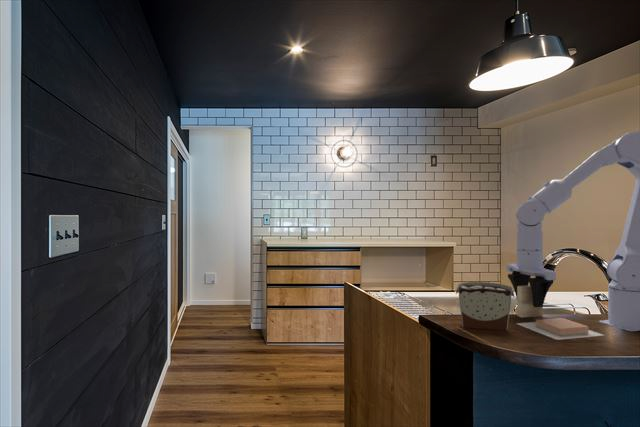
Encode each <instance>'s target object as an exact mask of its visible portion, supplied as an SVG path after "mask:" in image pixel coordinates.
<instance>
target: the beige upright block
mask: <svg viewBox="0 0 640 427" xmlns="http://www.w3.org/2000/svg"><path fill="white" fill-rule="evenodd" d="M516 300H517V303H516V304H517V305H516V307H517V308H516V312H517V315H516V316H517V317H519V318H533V317H534V318H535V317H544V316H543V315H544V313H543V311H544V310H543V309H544V308H543V307H544V306H543V307H534V306H533V300H532V290H531V286H530V284H528V286H517V298H516Z"/></svg>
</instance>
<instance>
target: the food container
mask: <svg viewBox="0 0 640 427" xmlns="http://www.w3.org/2000/svg"><path fill="white" fill-rule="evenodd" d="M457 294H458V299H459V306H460V307H459V309H460V317H461V325H462V328H463V330H465V328H469V329H485V330H496V331H497V330H499V331H508V330H509V320H510V313H511V312H510V311H511V304H512V297H513V298H515V297H516V295H515V291H514V289H513V286H512V287H511V286H509V285H507V284H501V283H495V282H487V281H486V282H485V281H483V282H482V281H468V282H467V281H466V282H461V283H459V284H458V285H457V287H456V290H455V295H457Z"/></svg>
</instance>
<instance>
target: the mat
mask: <svg viewBox="0 0 640 427" xmlns="http://www.w3.org/2000/svg"><path fill="white" fill-rule="evenodd" d="M516 325H518V326H520V327H523V328H526V329H527V330H531V331H533V332H536V333H539V334H541V335H544V336H546V337H549V338H551V339H552V340H553V339H554V340H556V341H560V340H569V339H570V340H572V339H581V338H592V337H602V336H606V335H605V334H602V333H600V332H597V331H593V330H590V329H588V334H581V335H570V336H559V335H556V334H553V333H551V332H548V331H545V330H543V329H540V328H538V327H536V321H532V322H531V321H530V322H529V321H528V322H519V323H516Z"/></svg>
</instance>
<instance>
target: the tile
mask: <svg viewBox="0 0 640 427" xmlns="http://www.w3.org/2000/svg"><path fill="white" fill-rule="evenodd" d="M535 322H536V327H538V328H540V329H543V330H545V331H548V332H551V333H553V334H556V335H559V336H570V335H581V334H588V330H589V326H588V325H586V324H582V323H579V322H576V321H572V320H569V319H567V318H564V317H556V318H555V317H554V318H543V319H542V318H541V319H535Z"/></svg>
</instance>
